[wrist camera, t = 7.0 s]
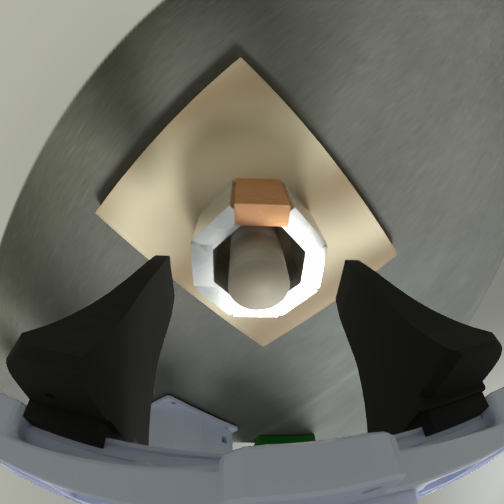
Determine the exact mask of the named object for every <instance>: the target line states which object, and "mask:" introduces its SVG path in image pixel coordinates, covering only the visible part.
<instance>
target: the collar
mask: <svg viewBox="0 0 504 504" xmlns="http://www.w3.org/2000/svg"><path fill="white" fill-rule="evenodd" d="M240 226H277V227H282V228H283V229H284V230H285V231H286V232H287V233H288V234H289V235H290V236H291V240H290V245H289V246H288V247H286V248H285V249H284V250H283V254H284V258H285V262H286V267H287V271H288V275H289V279H290V289H289V292H288V294H287V296H286V297H285V299H284V300H283V301H282V302H281V303H279V304H278V305H276V306H274V307H272V308H269V309H265V310H251V309H247V308H244V307H242V306H240V305H239V304H237V303H236V302H235V301H234V300H233V299H232V297H231V296H230V294H229V290H228V279H229V263H230V252H228V251H227V250H226V249H225V248H224V247H223V246H222V245H221V244H220V243H221V242H223V241H224V240H225V239H226V238H227V237H228V236H229V235H231V234H232V233H233V232H234V231H235V230H236V229H238V228H239V227H240ZM190 246H191V260H192V272H193V284H194V286H196V290H197V291H198V292H199V293H201V294H202V295H203V296H205V297H206V298H207V299H209V300H210V301H211V302H212V303H214V304H215V305H216V306H218V307H219V308H220V309H222V310H223V311H224V312H226V313H227V314H228V315H231V314H232V313H233V317H278V313H279V314H280V315H281V316H282V315H283V314H285V313H286V312H288V311H289V310H291V309H292V308H294V307H295V306H297V305H298V304H299V303H301V302H302V301H304V300H305V299H307V298H308V297H309V296H311V295H312V294H314V293H315V292H317V289H316V288H320V283H321V278H322V273H323V268H324V263H325V258H326V253H327V245H326V241H325V239H324V237H323V235H322V233H321V231H320V229H319V227H318V226H317V224H316V222H315V220H314V218H313V216H312V214H311V213H310V211H309V209H308V208H307V207H306V206H305V205H304V204H303V203H302V202H301V200H300V199H299V198H298V197H297V196H296V195H295V194H294V193H293V191H292V190H291V189H290V188H289V187H288V186H287V185H286V184H285V183H284V182H282V183H281V182H280V180H276V179H249V178H236V183H235V182H234V181H233V180H231V181H230V182H229V183H228V184H227V185H226V186H225V187H224V188H223V189H222V190H221V191H219V192H218V193H217V194H216V195H215V196H214V197H213V198H212V199H211V200H210V201H209V202H208V203H207V204H206V205H205V206H204V207H203V208H202V211H201V213H200V216H199V219H198V222H197V225H196V228H195V231H194V234H193V237H192V240H191V244H190Z"/></svg>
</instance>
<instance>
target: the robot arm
mask: <svg viewBox="0 0 504 504" xmlns="http://www.w3.org/2000/svg"><path fill="white" fill-rule="evenodd" d="M174 297H175V295H174V288H173V280H172V272H171V263H170V256H164V255H155V256H154V257H152V258H151V259H150V260H149V261H148V262H146V263H145V264H144V265H143V266H142V267H141V268H139V269H138V270H137V271H136V272H135V273H133V274H132V275H131V276H130V277H129V278H127V279H126V280H125V281H124V282H122V283H121V284H120V285H118V286H117V287H116V288H115V289H113V290H112V291H111V292H109V293H108V294H106V295H105V296H103V297H102V298H100V299H99V300H97V301H96V302H94V303H92V304H91V305H89V306H87V307H85V308H83V309H82V310H80V311H78V312H76V313H74V314H72V315H70V316H68V317H66V318H63V319H61V320H59V321H56V322H54V323H51V324H49V325H46V326H43V327H40V328H37V329H34V330H31V331H27V332H24V333H22V334H21V336H20V337H19V339H18V340H17V342H16V344H15V345H14V347H13V349H12V350H11V352H10V354H9V355H8V357H7V359H6V364H7V367H8V370H9V372H10V374H11V375H12V377H13V378H14V380H15V381H16V382H17V384H18V385H19V386H20V388H21V389H22V390H23V391H24V393H25V394H26V395H27V396H28V398H29V399H30V400H29V402H28V405H27V406H26V405H25V404H24V403H22V402H21V401H19V400H17V399H14V398H12V397H9V396H7V395H5V394H3V393H0V463H1V464H2V465H4V466H5V467H7V468H8V469H9V470H11V471H12V472H14V473H15V474H17V475H19V476H21V477H23V478H24V479H26V480H29V481H30V482H33V483H34V484H36V485H39V486H40V487H43V488H45V489H47V490H49V491H51V492H53V493H56V494H58V495H60V496H63V497H65V498H67V499H70V500H72V501H75V502H77V503H80V504H418V502H417V498H420V497H422V496H425V495H427V494H429V493H431V492H434V491H436V490H438V489H440V488H442V487H444V486H446V485H448V484H450V483H452V482H454V481H456V480H458V479H460V478H462V477H464V476H465V475H467V474H469V473H471V472H473V471H474V470H476V469H478V468H480V467H481V466H483V465H485V464H486V463H488V462H489V461H491V460H493V459H494V458H495V457H497V456H498V455H499V454H501V453H502V452H503V451H504V387H502V388H500V389H498V390H496V391H494V392H492V393H490V394H489V395H487V396H486V397H484V395H483V393H482V391H484V390H485V385H484V384H483V382H482V381H483V380H484V379H485V378H486V376H487V375H488V374H489V372H490V371H491V370H492V369H493V367H494V366H495V364H496V363H497V361H498V360H499V358H500V356H501V352H502V346H501V344H500V342H499V341H498V340H497V338H496V337H495V335H494V334H493V333H492V332H488V331H485V330H481V329H477V328H473V327H471V326H468V325H465V324H462V323H460V322H457V321H455V320H452V319H450V318H448V317H446V316H444V315H441V314H439V313H437V312H435V311H433V310H431V309H430V308H428V307H426V306H424V305H423V304H421V303H419V302H417V301H416V300H414V299H413V298H411V297H410V296H408V295H407V294H405V293H404V292H402V291H401V290H399V289H398V288H397V287H395V286H394V285H392V284H391V283H390V282H388V281H387V280H386V279H384V278H383V277H382V276H380V275H379V274H378V273H376V272H375V271H374V270H372V269H371V268H370V267H368V266H367V265H365V264H364V263H362V262H361V261H359V260H345V263H344V267H343V271H342V275H341V279H340V283H339V287H338V291H337V295H336V298H335V299H336V303H337V308H338V312H339V316H340V320H341V322H342V325H343V328H344V330H345V333H346V336H347V338H348V341H349V344H350V346H351V349H352V352H353V354H354V357H355V360H356V363H357V367H358V371H359V376H360V380H361V385H362V390H363V396H364V402H365V410H366V418H367V429H368V433H365V434H360V435H354V436H348V437H342V438H335V439H327V440H319V441H310V442H299V443H286V444H266V445H258V446H248V447H242V448H239V449H236V450H232V433H233V432H236V431H237V430H238V427H237V426H234V425H232V424H230V423H227V422H225V421H223V420H220V419H218V418H216V417H214V416H211V415H209V414H207V413H205V412H203V411H201V410H198V409H196V408H194V407H192V406H190V405H188V404H186V403H184V402H182V401H180V400H178V399H176V398H174V397H173V396H169V395H167V396H164V397H162V398H160V399H158V400H156V401H154V402H152V394H153V386H154V379H155V373H156V367H157V362H158V358H159V355H160V352H161V348H162V345H163V342H164V338H165V335H166V332H167V328H168V325H169V322H170V318H171V314H172V309H173V303H174ZM151 402H152V403H151Z"/></svg>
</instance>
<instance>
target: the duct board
mask: <svg viewBox="0 0 504 504" xmlns="http://www.w3.org/2000/svg"><path fill="white" fill-rule="evenodd" d="M236 178H249V179H276V180H280V182H281V183H282V182H284V183H285V184H286V185H287V186H288V187H289V188H290V189H291V190H292V191H293V193H294V194H295V195H296V196H297V197H298V198H299V199H300V200H301V202H302V203H303V204H304V205H305V206H306V207H307V208H308V209H309V211H310V213H311V214H312V216H313V218H314V220H315V222H316V224H317V226H318V227H319V229H320V231H321V233H322V235H323V237H324V239H325V241H326V245H327V253H326V258H325V263H324V268H323V273H322V278H321V283H320V288H316V289H317V292H315V293H314V294H312V295H311V296H309V297H308V298H307V299H305V300H304V301H302V302H301V303H299V304H298V305H297V306H295V307H294V308H292V309H291V310H289V311H288V312H286V313H285V314H283V315H282V316H281V315H280V314H279V313H278V317H233V313H232V314H231V315H228V314H227V313H226V312H224V311H223V310H222V309H220V308H219V307H218V306H216V305H215V304H214V303H212V302H211V301H210V300H209V299H207V298H206V297H205V296H203V295H202V294H201V293H199V292H198V291H197V290H196V286H194V284H193V272H192V260H191V246H190V244H191V240H192V237H193V234H194V231H195V228H196V225H197V222H198V219H199V216H200V213H201V211H202V208H203V207H204V206H205V205H206V204H207V203H208V202H209V201H210V200H211V199H212V198H213V197H214V196H215V195H216V194H217V193H218V192H219V191H221V190H222V189H223V188H224V187H225V186H226V185H227V184H228V183H229V182H230V181H231V180H233V181H234V182H235V183H236ZM96 214H97V215H98V216H99V217H101V218H102V219H103V220H104V221H105V222H106V223H107V224H108V225H109V226H111V227H112V228H113V229H114V230H115V231H116V232H117V233H118V234H120V235H121V236H122V237H123V238H124V239H125V240H126V241H128V242H129V243H130V244H131V245H132V246H133V247H135V248H136V249H137V250H138V251H139V252H140V253H142V254H143V255H144V256H145V257H146V258H148V259H149V260H150V259H151V258H152V257H154V256H155V255H164V256H170V263H171V272H172V279H173V280H174V281H176V282H177V283H178V284H179V285H181V286H182V287H183V288H184V289H186V290H187V291H188V292H190V293H191V294H192V295H193V296H195V297H196V298H197V299H199V300H200V301H201V302H202V303H204V304H205V305H206V306H208V307H209V308H210V309H212V310H213V311H214V312H216V313H217V314H218V315H220V316H221V317H222V318H224V319H225V320H226V321H228V322H229V323H230V324H232V325H233V326H234V327H236V328H237V329H239V330H240V331H241V332H243V333H244V334H246V335H247V336H248V337H250V338H251V339H253V340H254V341H255V342H257V343H258V344H260V345H261V346H263V347H264V346H265V345H267V344H269V343H270V342H272V341H274V340H275V339H277V338H278V337H280V336H282V335H283V334H285V333H286V332H288V331H290V330H291V329H293V328H294V327H296V326H297V325H299V324H301V323H302V322H304V321H305V320H307V319H308V318H310V317H311V316H313V315H314V314H316V313H317V312H319V311H320V310H322V309H323V308H325V307H326V306H328V305H329V304H330V303H332V302H333V301H335V300H336V299H335V298H336V295H337V291H338V287H339V283H340V279H341V275H342V271H343V267H344V263H345V260H359V261H361V262H362V263H364V264H365V265H367V266H368V267H370V268H371V269H372V270H374V271H376V270H378V269H379V268H380V267H382V266H383V265H384V264H386V263H387V262H388V261H389V260H391V259H392V258H393V257H395V256H396V255H397V252H396V250H395V249H394V247H393V245H392V244H391V242H390V241H389V239H388V237H387V236H386V234H385V233H384V231H383V230H382V228H381V227H380V225H379V223H378V222H377V220H376V219H375V217H374V216H373V214H372V213H371V211H370V210H369V209H368V207H367V206H366V204H365V203H364V201H363V200H362V198H361V197H360V196H359V194H358V193H357V191H356V190H355V189H354V187H353V186H352V184H351V183H350V182H349V180H348V179H347V178H346V176H345V175H344V174H343V172H342V171H341V170H340V168H339V167H338V166H337V164H336V163H335V162H334V160H333V159H332V158H331V157H330V155H329V154H328V153H327V152H326V150H325V149H324V148H323V147H322V145H321V144H320V143H319V142H318V140H317V139H316V138H315V137H314V135H313V134H312V133H311V132H310V131H309V130H308V128H307V127H306V126H305V125H304V124H303V122H302V121H301V120H300V119H299V118H298V117H297V116H296V114H295V113H294V112H293V111H292V110H291V109H290V108H289V107H288V105H287V104H286V103H285V102H284V101H283V100H282V99H281V98H280V97H279V96H278V94H277V93H276V92H275V91H274V90H273V89H272V88H271V87H270V86H269V85H268V84H267V83H266V82H265V81H264V80H263V79H262V78H261V77H260V76H259V75H258V74H257V73H256V72H255V71H254V70H253V69H252V68H251V67H250V66H249V65H248V64H247V63H246V62H245V61H244V60H243V59H242V58H241V57H240V58H239V59H238V60H237V61H235V62H234V63H233V64H232V65H231V66H229V67H228V68H227V69H226V70H225V71H224V72H222V73H221V74H220V75H219V76H218V77H217V78H216V79H215V80H213V81H212V82H211V83H210V84H209V85H208V86H207V87H206V88H205V89H204V90H202V91H201V92H200V93H199V94H198V95H197V96H196V97H195V98H194V99H193V100H192V101H191V102H190V103H189V104H188V105H187V106H186V107H185V108H184V109H183V110H182V111H181V112H180V113H179V114H178V115H177V116H176V117H175V118H174V119H173V120H172V121H171V122H170V123H169V124H168V125H167V126H166V127H165V128H164V130H163V131H162V132H161V133H160V134H159V135H158V136H157V137H156V138H155V139H154V140H153V142H152V143H151V144H150V145H149V146H148V147H147V148H146V149H145V151H144V152H143V153H142V154H141V155H140V156H139V158H138V159H137V160H136V161H135V162H134V164H133V165H132V166H131V167H130V168H129V170H128V171H127V172H126V173H125V174H124V176H123V177H122V178H121V179H120V181H119V182H118V183H117V185H116V186H115V187H114V188H113V190H112V191H111V192H110V194H109V195H108V196H107V198H106V199H105V200H104V202H103V203H102V204H101V206H100V207H99V209H98V210H97V211H96ZM290 240H291V236H290V235H289V234H288V233H287V232H286V231H285V230H284V229H283V228H282V227H277V226H240V227H239V228H238V229H236V230H235V231H234V232H233V233H232V234H231V235H229V236H228V237H227V238H226V239H225V240H224V241H223V242H221V243H220V244H221V245H222V246H223V247H224V248H225V249H226V250H227V251H228V252H230V263H229V279H228V290H229V294H230V296H231V297H232V299H233V300H234V301H235V302H236V303H237V304H239V305H240V306H242V307H244V308H247V309H251V310H265V309H269V308H272V307H274V306H276V305H278V304H279V303H281V302H282V301H283V300H284V299H285V297H286V296H287V294H288V292H289V289H290V279H289V275H288V271H287V267H286V262H285V258H284V254H283V250H284V249H285V248H286V247H288V246H289V245H290Z"/></svg>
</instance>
